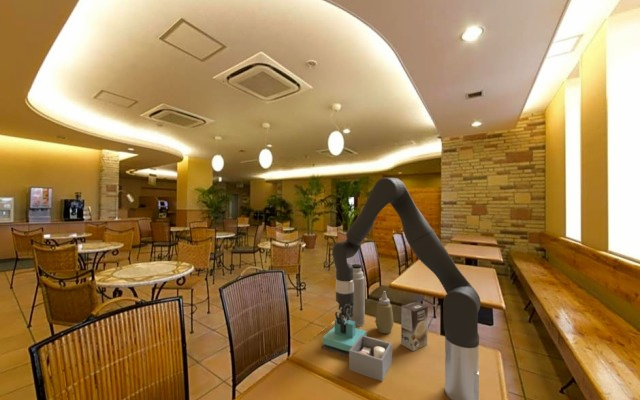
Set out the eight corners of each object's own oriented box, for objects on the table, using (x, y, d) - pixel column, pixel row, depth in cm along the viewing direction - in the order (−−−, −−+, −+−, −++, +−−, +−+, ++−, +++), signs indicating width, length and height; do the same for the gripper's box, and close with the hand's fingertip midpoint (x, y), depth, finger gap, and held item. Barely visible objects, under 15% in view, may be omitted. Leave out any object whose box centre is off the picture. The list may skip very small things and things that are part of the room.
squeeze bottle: (394, 336, 118) (394, 295, 117) (375, 334, 119) (375, 294, 119) (393, 327, 126) (392, 288, 125) (375, 325, 127) (375, 287, 127)
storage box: (392, 361, 100) (392, 343, 100) (382, 381, 89) (382, 360, 89) (361, 352, 106) (361, 334, 106) (349, 370, 95) (349, 350, 95)
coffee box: (413, 351, 106) (413, 311, 106) (400, 344, 111) (400, 305, 111) (428, 344, 111) (428, 306, 111) (415, 337, 116) (415, 300, 116)
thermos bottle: (352, 327, 125) (352, 268, 125) (345, 320, 133) (345, 263, 132) (367, 325, 128) (367, 266, 127) (360, 317, 135) (360, 262, 135)
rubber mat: (366, 340, 114) (366, 339, 114) (354, 358, 102) (354, 357, 102) (337, 332, 121) (337, 331, 121) (321, 348, 109) (321, 346, 109)
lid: (366, 336, 114) (366, 317, 114) (354, 353, 102) (353, 332, 102) (337, 328, 121) (337, 311, 120) (322, 343, 109) (322, 324, 109)
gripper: (346, 297, 103) (346, 341, 103) (359, 286, 115) (359, 326, 115) (328, 293, 107) (329, 336, 107) (343, 283, 119) (343, 322, 119)
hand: (345, 330), depth 111 cm, fingers closed on lid, 3 cm apart
